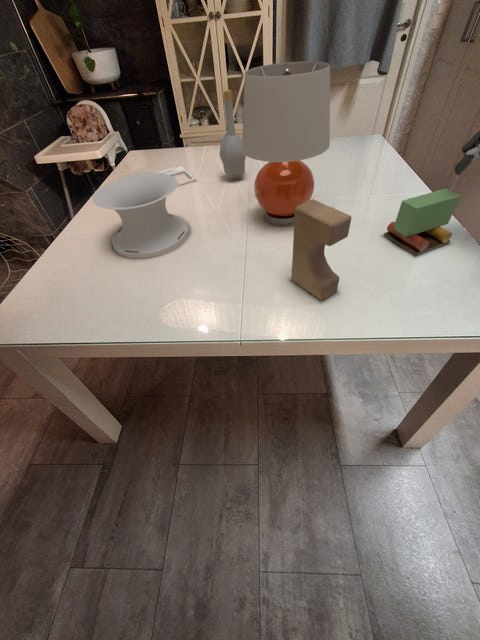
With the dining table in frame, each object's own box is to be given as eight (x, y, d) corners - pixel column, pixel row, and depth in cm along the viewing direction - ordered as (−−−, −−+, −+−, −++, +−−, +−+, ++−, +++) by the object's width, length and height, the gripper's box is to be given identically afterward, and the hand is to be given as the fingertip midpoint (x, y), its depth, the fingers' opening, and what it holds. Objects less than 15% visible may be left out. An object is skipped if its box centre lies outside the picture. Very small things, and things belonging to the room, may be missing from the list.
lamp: (286, 193, 112) (290, 58, 84) (336, 216, 98) (362, 61, 69) (232, 216, 103) (217, 73, 75) (279, 245, 89) (282, 81, 61)
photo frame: (181, 165, 138) (194, 177, 127) (181, 168, 139) (195, 180, 128) (151, 173, 135) (162, 186, 123) (151, 176, 136) (162, 189, 124)
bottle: (235, 171, 131) (227, 86, 109) (254, 177, 125) (249, 88, 103) (216, 180, 126) (204, 93, 104) (235, 186, 120) (226, 95, 98)
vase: (121, 222, 107) (103, 177, 96) (189, 213, 107) (179, 168, 96) (106, 262, 90) (81, 214, 79) (187, 252, 90) (175, 203, 79)
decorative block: (337, 292, 73) (353, 215, 58) (320, 302, 71) (332, 226, 56) (306, 271, 80) (313, 197, 65) (290, 279, 78) (293, 206, 63)
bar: (448, 224, 82) (461, 195, 76) (405, 237, 79) (416, 208, 74) (433, 216, 85) (445, 188, 79) (393, 228, 83) (401, 200, 77)
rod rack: (449, 243, 82) (455, 230, 80) (415, 256, 80) (420, 243, 77) (415, 224, 90) (419, 212, 87) (383, 236, 88) (387, 223, 85)
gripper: (503, 92, 66) (442, 160, 71) (577, 103, 56) (500, 179, 62) (506, 116, 70) (449, 178, 76) (575, 129, 61) (504, 198, 67)
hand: (472, 178), depth 69 cm, fingers open, 8 cm apart
